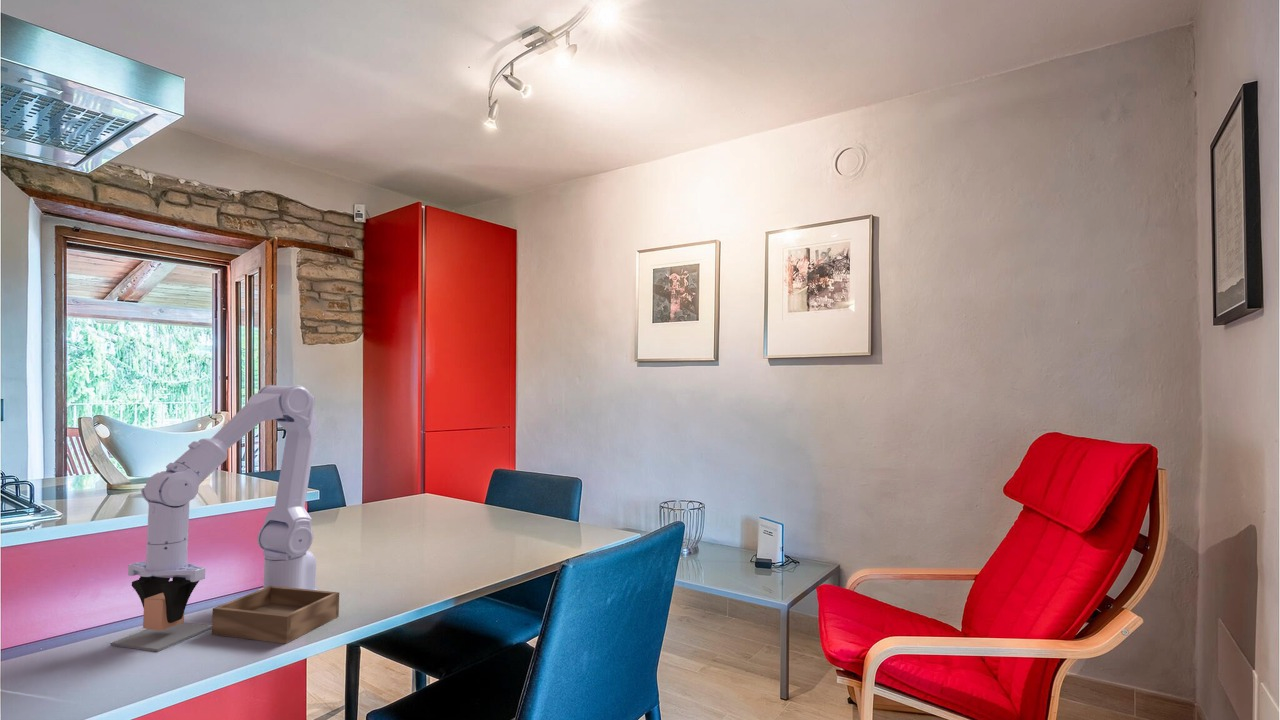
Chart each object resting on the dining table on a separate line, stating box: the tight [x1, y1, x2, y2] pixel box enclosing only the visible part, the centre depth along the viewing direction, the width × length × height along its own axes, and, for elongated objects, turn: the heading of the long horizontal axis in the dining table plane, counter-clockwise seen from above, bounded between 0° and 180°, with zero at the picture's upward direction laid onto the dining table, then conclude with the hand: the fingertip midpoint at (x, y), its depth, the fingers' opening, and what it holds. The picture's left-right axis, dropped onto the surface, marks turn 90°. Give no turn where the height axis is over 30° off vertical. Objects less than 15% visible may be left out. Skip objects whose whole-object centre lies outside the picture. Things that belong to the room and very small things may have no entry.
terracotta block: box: [142, 593, 185, 631], centre depth 106 cm, size 4×4×5 cm
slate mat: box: [110, 621, 212, 653], centre depth 106 cm, size 10×10×1 cm
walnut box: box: [211, 586, 340, 644], centre depth 111 cm, size 13×16×4 cm
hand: (164, 619), depth 106 cm, fingers closed on terracotta block, 4 cm apart
